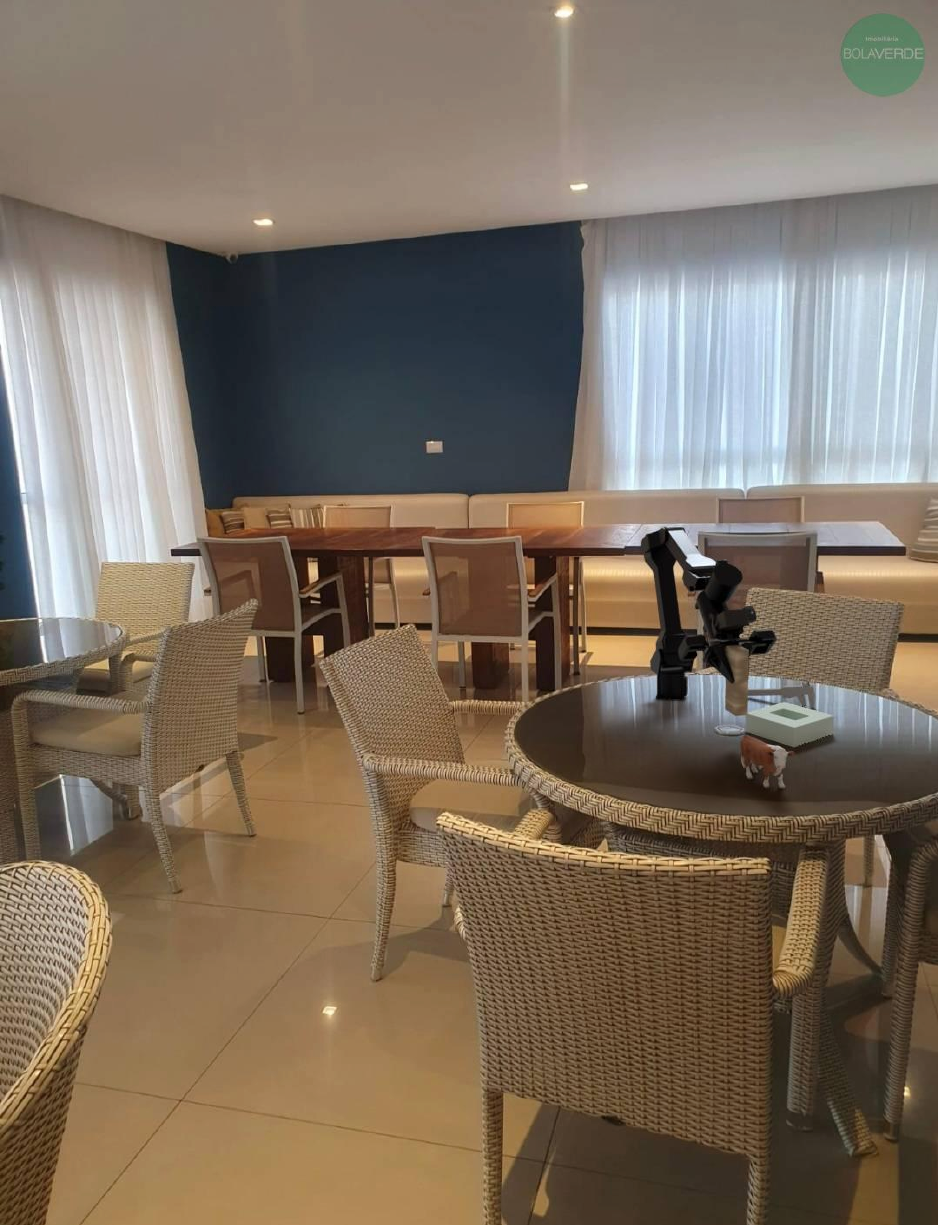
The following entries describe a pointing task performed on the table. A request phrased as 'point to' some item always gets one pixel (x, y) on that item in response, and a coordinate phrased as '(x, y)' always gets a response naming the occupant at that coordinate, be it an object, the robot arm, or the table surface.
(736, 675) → the slat
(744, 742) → the bull figurine
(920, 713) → the table surface
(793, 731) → the end cap
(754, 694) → the caliper
